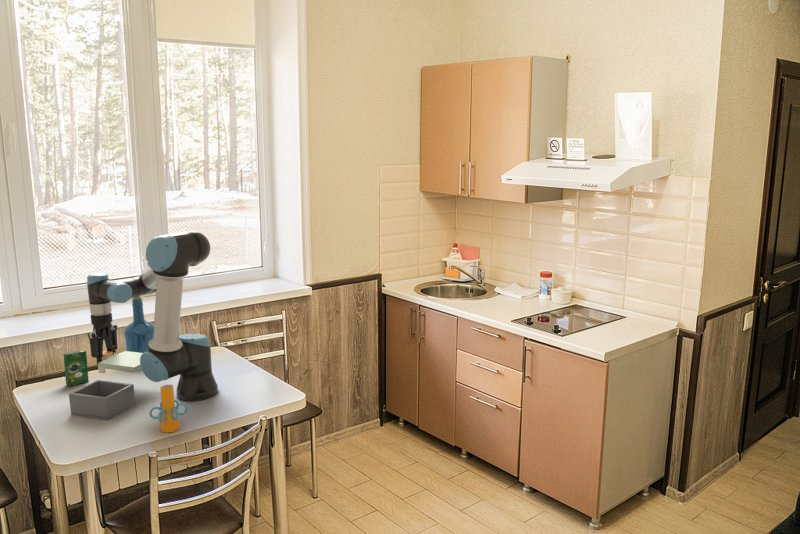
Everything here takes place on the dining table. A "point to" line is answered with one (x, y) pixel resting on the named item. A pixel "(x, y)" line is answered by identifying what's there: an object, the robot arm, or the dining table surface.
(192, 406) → the dining table surface
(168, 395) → the orange post with rings
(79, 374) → the coffee box
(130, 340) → the wine bottle
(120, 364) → the lid
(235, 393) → the dining table surface
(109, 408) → the tub
